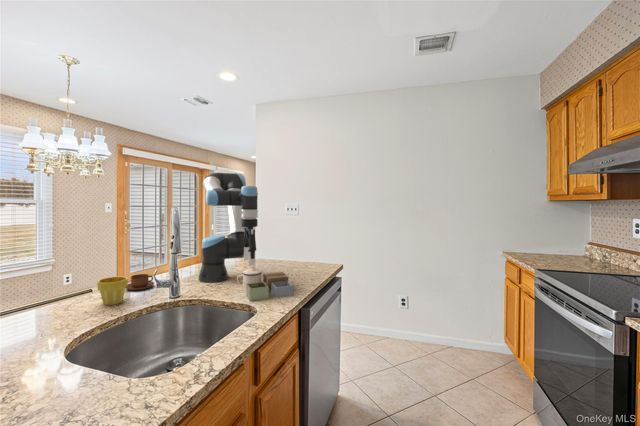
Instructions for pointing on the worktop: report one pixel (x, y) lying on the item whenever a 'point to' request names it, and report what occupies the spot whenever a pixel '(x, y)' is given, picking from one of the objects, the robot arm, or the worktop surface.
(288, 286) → the grey tub
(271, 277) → the walnut stand
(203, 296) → the worktop surface
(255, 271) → the teacup with lid
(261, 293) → the olive tin
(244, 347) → the worktop surface
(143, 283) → the cup and saucer
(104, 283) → the plant pot
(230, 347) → the worktop surface
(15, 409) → the worktop surface
